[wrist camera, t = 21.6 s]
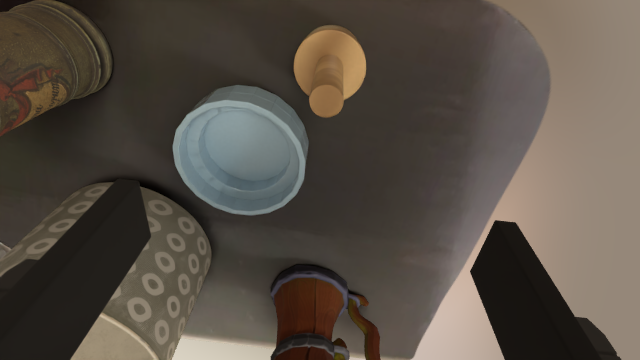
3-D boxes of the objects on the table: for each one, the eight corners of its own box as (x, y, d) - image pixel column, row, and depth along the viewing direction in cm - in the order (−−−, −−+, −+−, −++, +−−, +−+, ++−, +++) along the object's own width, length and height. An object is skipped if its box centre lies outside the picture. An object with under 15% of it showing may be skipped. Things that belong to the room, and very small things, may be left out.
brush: (369, 26, 32) (380, 59, 23) (358, 93, 36) (364, 147, 26) (299, 18, 32) (282, 48, 23) (295, 86, 36) (278, 137, 26)
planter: (69, 247, 50) (-47, 375, 35) (82, 143, 41) (-71, 259, 26) (197, 291, 54) (142, 423, 39) (237, 205, 45) (183, 338, 30)
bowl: (313, 90, 36) (310, 109, 32) (304, 194, 43) (300, 221, 39) (184, 75, 36) (163, 92, 32) (197, 182, 43) (181, 208, 39)
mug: (401, 275, 50) (421, 384, 38) (380, 323, 56) (391, 430, 44) (275, 255, 49) (253, 360, 37) (269, 306, 56) (247, 411, 43)
